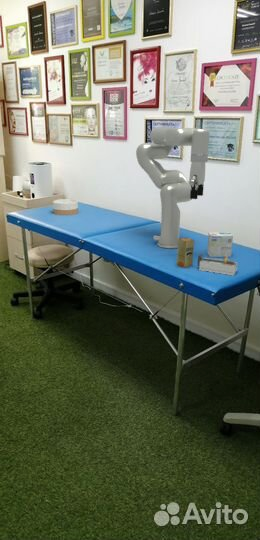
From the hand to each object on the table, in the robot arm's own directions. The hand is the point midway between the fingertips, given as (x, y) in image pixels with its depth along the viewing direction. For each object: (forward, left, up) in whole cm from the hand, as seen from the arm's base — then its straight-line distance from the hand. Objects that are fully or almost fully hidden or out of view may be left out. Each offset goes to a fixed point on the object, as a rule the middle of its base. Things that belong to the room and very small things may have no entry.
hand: (196, 197), depth 184 cm
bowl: (-108, +56, -29) cm, 125 cm away
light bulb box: (+11, +7, -29) cm, 31 cm away
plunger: (+13, -15, -27) cm, 34 cm away
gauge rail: (+16, -15, -28) cm, 36 cm away
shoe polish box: (0, -15, -28) cm, 32 cm away
